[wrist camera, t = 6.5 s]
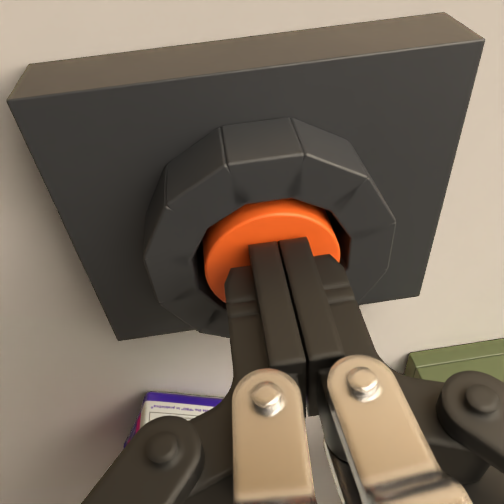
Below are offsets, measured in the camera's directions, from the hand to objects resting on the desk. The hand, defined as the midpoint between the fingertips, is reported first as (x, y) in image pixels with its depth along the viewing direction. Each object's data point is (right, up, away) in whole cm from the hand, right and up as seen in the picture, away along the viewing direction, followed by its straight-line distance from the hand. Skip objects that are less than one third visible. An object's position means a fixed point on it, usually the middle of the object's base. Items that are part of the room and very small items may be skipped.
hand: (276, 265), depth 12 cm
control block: (-1, +3, +3) cm, 4 cm away
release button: (0, +1, +1) cm, 2 cm away
